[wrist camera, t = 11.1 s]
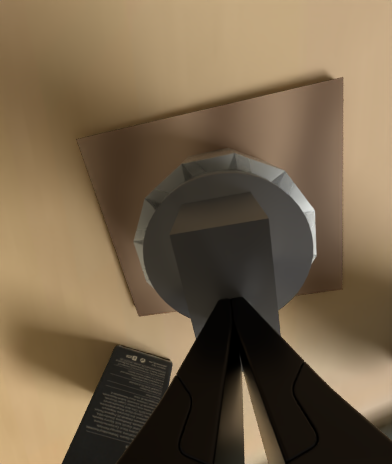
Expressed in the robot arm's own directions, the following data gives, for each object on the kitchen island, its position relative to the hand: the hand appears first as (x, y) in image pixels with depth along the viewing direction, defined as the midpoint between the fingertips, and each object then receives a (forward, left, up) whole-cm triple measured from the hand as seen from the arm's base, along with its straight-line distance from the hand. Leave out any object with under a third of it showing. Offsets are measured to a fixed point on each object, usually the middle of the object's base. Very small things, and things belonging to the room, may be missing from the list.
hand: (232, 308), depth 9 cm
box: (+11, +15, -10) cm, 21 cm away
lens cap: (0, 0, -8) cm, 8 cm away
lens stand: (0, 0, -10) cm, 10 cm away
